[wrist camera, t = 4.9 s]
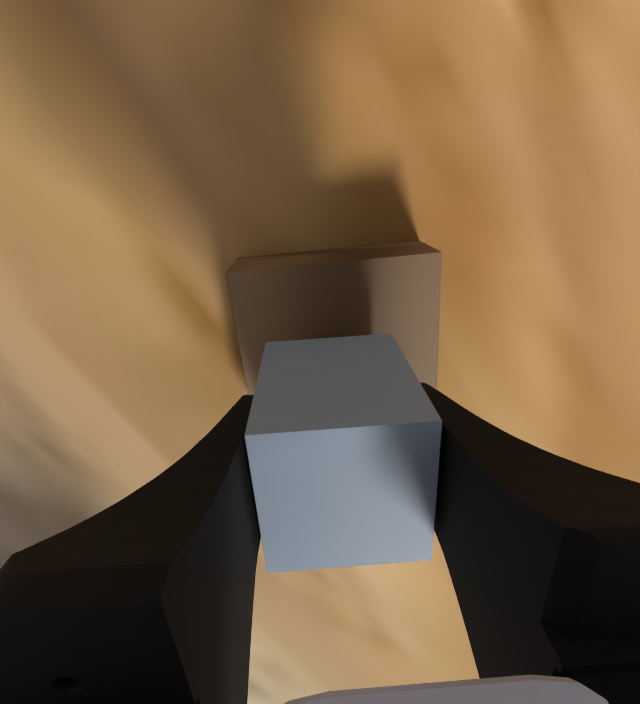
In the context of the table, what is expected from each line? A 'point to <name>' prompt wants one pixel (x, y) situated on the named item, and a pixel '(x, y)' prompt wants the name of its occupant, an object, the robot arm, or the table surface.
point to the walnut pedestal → (340, 300)
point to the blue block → (342, 454)
